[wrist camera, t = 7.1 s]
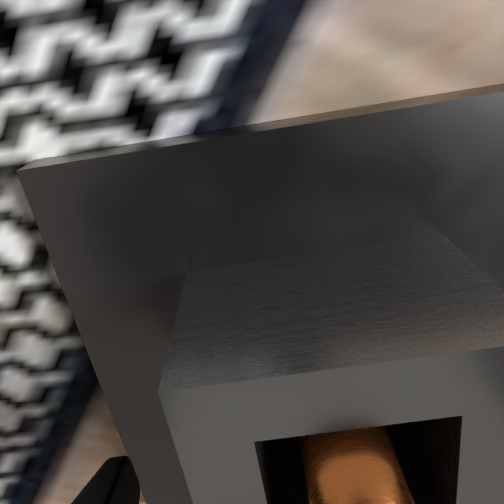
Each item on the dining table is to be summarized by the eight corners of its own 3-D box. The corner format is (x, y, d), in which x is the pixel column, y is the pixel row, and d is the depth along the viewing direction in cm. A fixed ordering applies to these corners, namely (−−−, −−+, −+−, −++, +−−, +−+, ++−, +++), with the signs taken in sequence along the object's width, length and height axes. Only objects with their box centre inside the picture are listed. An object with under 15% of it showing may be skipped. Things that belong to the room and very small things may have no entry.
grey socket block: (510, 455, 15) (669, 697, 9) (160, 497, 15) (115, 748, 10) (564, 73, 10) (986, 108, 4) (36, 159, 10) (-203, 289, 5)
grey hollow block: (436, 423, 13) (514, 576, 9) (231, 449, 13) (226, 606, 9) (443, 234, 10) (556, 338, 6) (187, 271, 10) (157, 392, 7)
